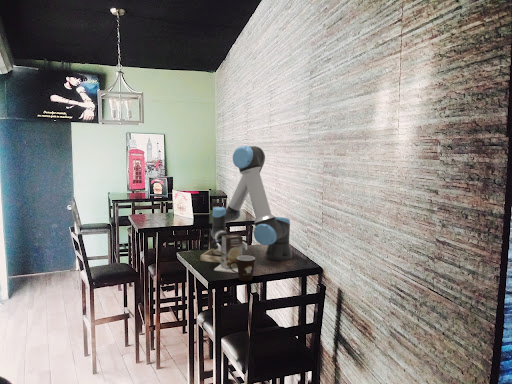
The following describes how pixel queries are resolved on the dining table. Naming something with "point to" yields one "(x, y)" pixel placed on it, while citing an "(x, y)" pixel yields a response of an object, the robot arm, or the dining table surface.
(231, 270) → the white napkin
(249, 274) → the coffee mug
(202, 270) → the dining table surface
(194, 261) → the dining table surface
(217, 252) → the pocket frame
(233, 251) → the coffee box
